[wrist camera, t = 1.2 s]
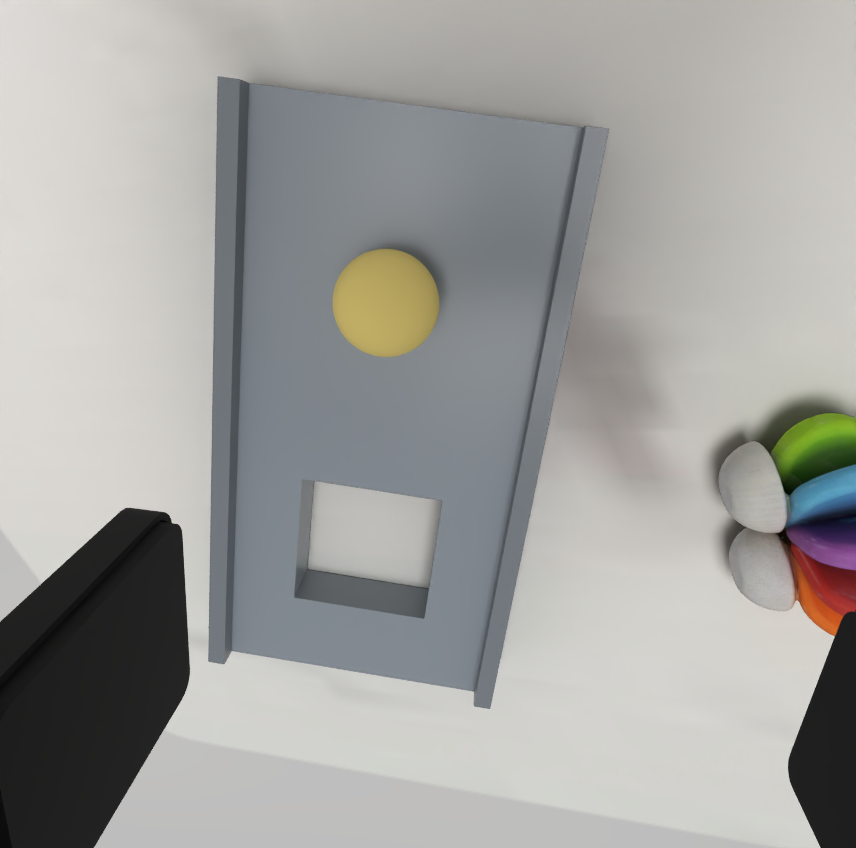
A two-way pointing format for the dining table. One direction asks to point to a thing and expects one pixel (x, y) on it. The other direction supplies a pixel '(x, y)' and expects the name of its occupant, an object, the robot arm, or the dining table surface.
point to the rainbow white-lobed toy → (796, 519)
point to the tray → (384, 367)
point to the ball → (385, 302)
